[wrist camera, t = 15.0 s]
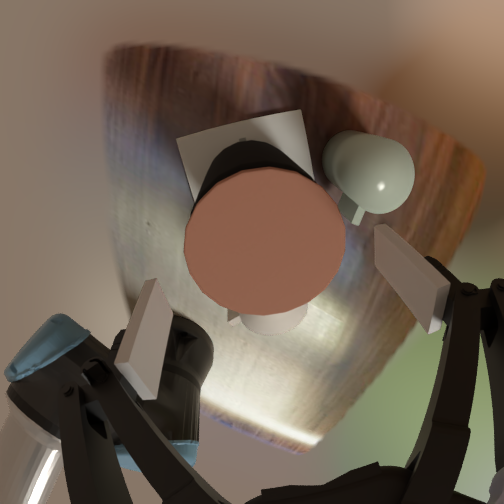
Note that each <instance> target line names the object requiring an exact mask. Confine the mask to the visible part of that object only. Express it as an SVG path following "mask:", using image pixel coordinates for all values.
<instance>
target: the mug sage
mask: <svg viewBox="0 0 504 504" xmlns="http://www.w3.org/2000/svg"><path fill="white" fill-rule="evenodd" d="M322 166H323V170H324V173H325V175H326V177H327V178H328V180H329V181H330V182H331V183H332V184H333V185H335V186H336V187H337V188H338V189H340V190H341V191H342V192H343V194H342V196H341V199H340V201H339V204H338V208H339V211H340V212H341V213H342V214H343V215H344V216H345V217H346V218H347V219H348V220H349V221H350V222H351V223H352V224H355V225H358V226H359V224H360V221H361V219H362V217H363V215H364V212H365V210H366V211H368V212H371V213H376V214H383V213H387V212H390V211H393V210H395V209H396V208H398V207H399V206H400V205H401V204H402V203H403V202H404V201H405V200H406V199H407V197H408V196H409V194H410V192H411V190H412V187H413V183H414V177H415V171H414V165H413V161H412V158H411V156H410V154H409V153H408V151H407V150H406V149H405V148H404V147H403V146H402V145H401V144H400V143H398V142H396V141H394V140H391V139H387V138H384V137H380V136H376V135H372V134H368V133H363V132H359V131H355V130H346V131H342V132H339V133H338V134H336V135H334V136H333V137H332V138H331V139H330V140H329V141H328V142H327V144H326V146H325V148H324V151H323V155H322Z"/></svg>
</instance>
